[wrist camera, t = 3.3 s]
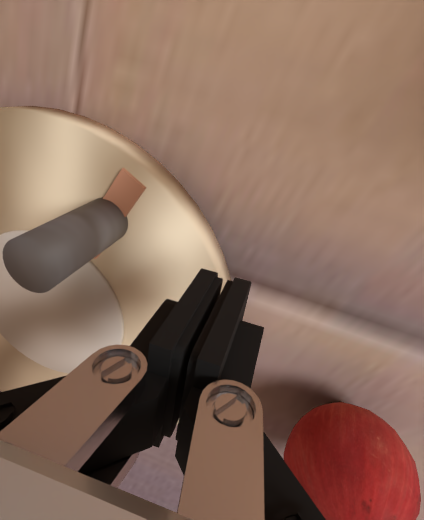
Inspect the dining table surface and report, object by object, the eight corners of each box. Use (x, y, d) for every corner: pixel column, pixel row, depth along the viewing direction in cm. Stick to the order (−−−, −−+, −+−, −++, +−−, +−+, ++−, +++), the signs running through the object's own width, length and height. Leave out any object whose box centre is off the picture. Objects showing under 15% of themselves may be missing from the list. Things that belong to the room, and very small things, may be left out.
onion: (425, 412, 18) (497, 617, 11) (347, 457, 20) (364, 643, 14) (335, 349, 17) (350, 516, 10) (269, 404, 20) (246, 564, 13)
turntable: (-99, 282, 24) (-226, 339, 18) (-24, -1, 14) (-247, -65, 9) (120, 451, 26) (65, 551, 20) (319, 304, 16) (322, 417, 10)
